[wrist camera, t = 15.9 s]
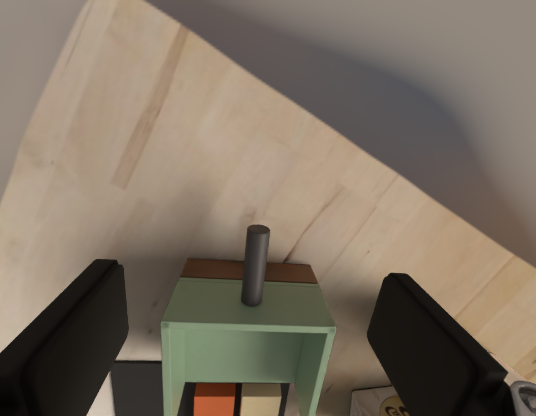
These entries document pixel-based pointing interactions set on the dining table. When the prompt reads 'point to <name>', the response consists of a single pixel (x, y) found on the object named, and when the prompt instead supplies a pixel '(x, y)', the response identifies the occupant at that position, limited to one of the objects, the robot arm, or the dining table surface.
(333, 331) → the green scoop with handle
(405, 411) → the coffee box
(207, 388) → the block
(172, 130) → the dining table surface
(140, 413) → the mat
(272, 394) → the block
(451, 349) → the robot arm
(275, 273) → the stand
